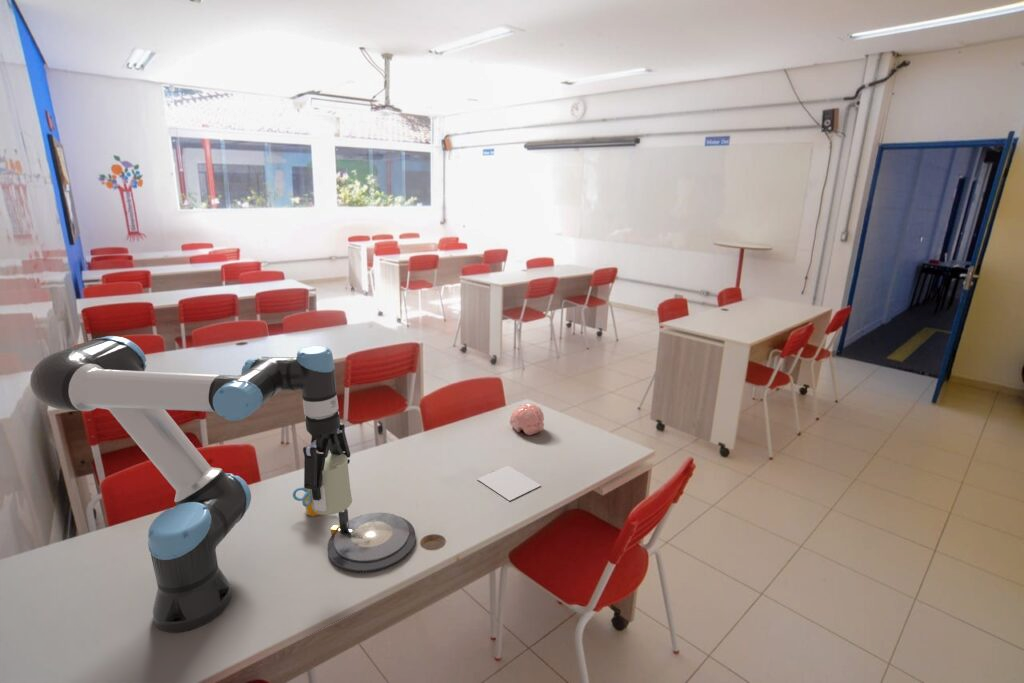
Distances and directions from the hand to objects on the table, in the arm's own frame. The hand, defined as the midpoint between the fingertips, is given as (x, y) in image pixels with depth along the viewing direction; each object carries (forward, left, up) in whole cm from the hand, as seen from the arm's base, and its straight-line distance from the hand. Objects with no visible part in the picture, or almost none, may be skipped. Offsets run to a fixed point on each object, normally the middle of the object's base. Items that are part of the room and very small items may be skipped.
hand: (332, 498), depth 125 cm
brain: (+96, +14, -20) cm, 99 cm away
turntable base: (+12, +1, -20) cm, 23 cm away
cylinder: (+10, +26, -20) cm, 35 cm away
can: (0, 0, -2) cm, 2 cm away
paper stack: (+56, -2, -21) cm, 59 cm away
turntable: (+12, +1, -19) cm, 22 cm away
